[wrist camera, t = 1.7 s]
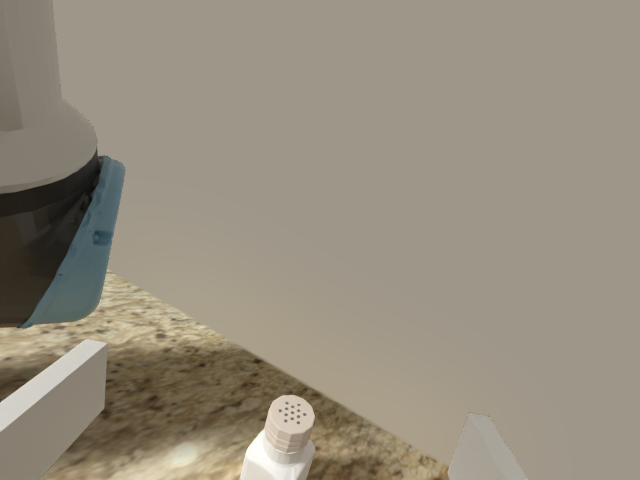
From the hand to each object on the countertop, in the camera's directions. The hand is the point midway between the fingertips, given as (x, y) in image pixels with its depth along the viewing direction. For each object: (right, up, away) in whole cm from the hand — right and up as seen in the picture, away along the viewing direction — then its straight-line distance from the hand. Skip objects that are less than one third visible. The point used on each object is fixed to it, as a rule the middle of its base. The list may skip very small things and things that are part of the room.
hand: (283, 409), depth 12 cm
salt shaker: (-3, -14, +14) cm, 20 cm away
